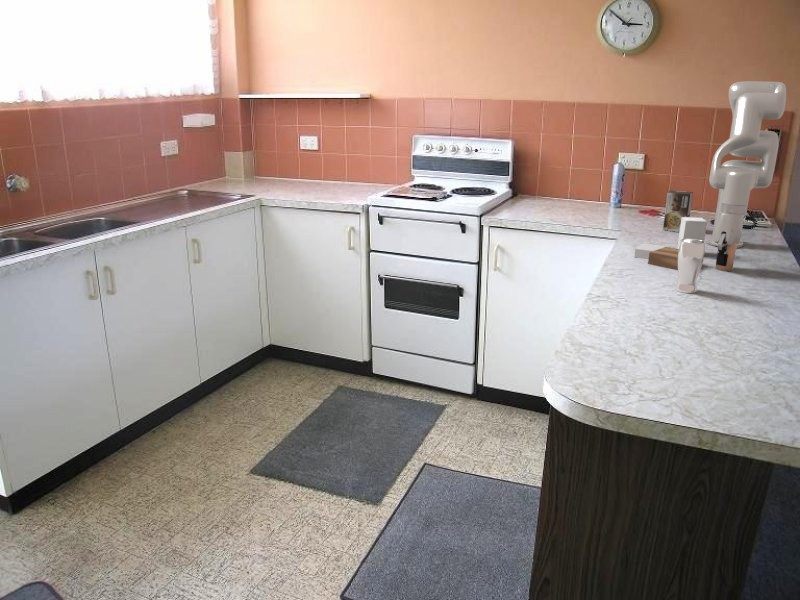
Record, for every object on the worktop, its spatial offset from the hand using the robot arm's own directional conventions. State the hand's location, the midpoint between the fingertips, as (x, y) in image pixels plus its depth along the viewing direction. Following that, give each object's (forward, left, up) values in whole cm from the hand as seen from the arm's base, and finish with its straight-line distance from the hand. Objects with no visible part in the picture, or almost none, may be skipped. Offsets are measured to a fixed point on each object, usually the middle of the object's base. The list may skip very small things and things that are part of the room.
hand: (724, 263), depth 220 cm
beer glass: (+33, +2, -2) cm, 33 cm away
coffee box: (-46, -38, -2) cm, 60 cm away
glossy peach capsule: (0, 0, -2) cm, 2 cm away
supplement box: (-12, -17, -2) cm, 21 cm away
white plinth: (+2, -24, -2) cm, 24 cm away
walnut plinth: (+7, -14, -2) cm, 16 cm away
